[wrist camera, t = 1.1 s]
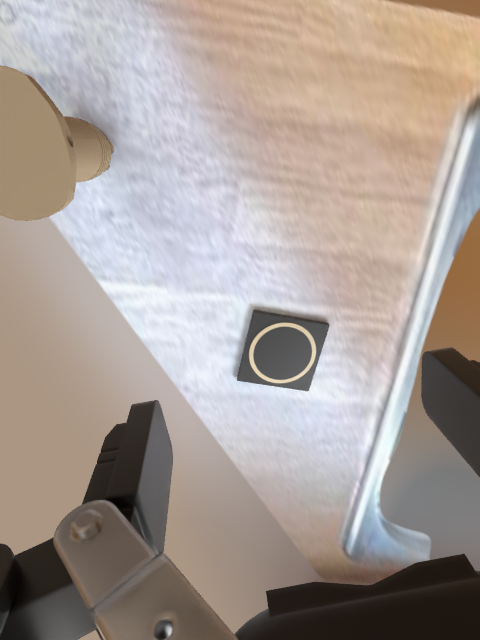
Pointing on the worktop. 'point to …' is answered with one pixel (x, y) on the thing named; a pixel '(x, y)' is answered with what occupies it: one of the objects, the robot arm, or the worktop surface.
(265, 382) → the slate board
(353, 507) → the worktop surface
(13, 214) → the handle
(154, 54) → the worktop surface
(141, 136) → the worktop surface
